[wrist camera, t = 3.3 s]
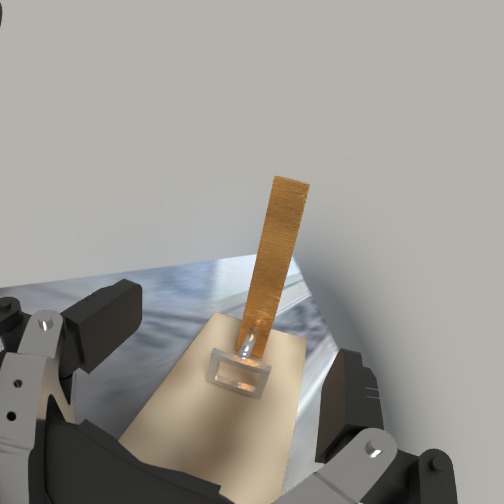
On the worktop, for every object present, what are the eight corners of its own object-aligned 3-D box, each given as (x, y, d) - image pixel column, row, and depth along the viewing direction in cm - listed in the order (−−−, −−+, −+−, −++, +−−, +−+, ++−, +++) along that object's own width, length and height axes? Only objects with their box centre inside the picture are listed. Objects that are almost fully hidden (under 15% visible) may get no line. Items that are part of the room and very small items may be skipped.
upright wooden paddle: (206, 381, 19) (243, 174, 14) (242, 317, 28) (274, 173, 23) (260, 398, 18) (323, 193, 13) (281, 328, 27) (321, 184, 23)
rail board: (64, 532, 5) (51, 526, 4) (212, 326, 29) (215, 311, 28) (236, 605, 3) (243, 610, 3) (301, 353, 28) (307, 338, 27)
